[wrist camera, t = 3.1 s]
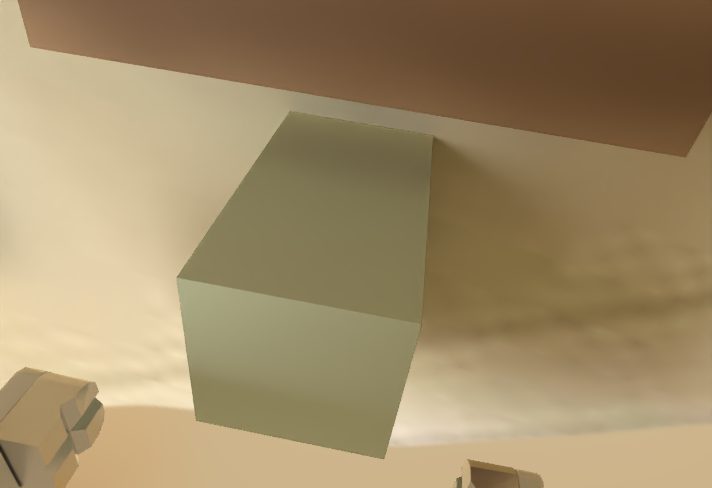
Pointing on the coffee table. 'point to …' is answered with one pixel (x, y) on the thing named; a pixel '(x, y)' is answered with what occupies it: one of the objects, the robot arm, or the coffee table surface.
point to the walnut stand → (429, 56)
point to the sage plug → (313, 287)
